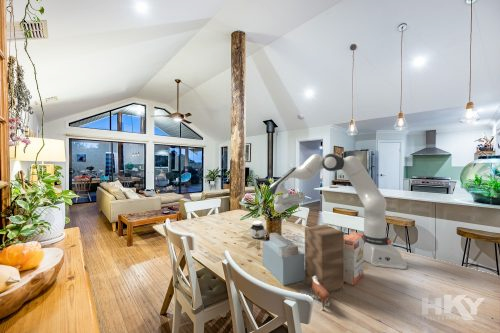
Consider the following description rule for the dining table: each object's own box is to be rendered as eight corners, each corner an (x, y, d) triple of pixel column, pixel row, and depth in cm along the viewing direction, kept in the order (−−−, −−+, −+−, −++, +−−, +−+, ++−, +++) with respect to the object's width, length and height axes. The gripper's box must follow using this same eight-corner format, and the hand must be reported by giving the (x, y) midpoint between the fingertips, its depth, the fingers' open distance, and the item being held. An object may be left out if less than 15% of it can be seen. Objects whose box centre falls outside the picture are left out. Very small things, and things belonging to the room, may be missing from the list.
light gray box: (261, 241, 121) (261, 234, 121) (275, 239, 124) (275, 232, 124) (281, 257, 100) (281, 249, 100) (298, 254, 104) (298, 246, 104)
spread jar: (249, 238, 164) (249, 222, 163) (256, 233, 174) (255, 219, 173) (263, 240, 158) (263, 224, 158) (269, 235, 168) (269, 220, 168)
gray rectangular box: (262, 264, 121) (262, 241, 121) (281, 260, 126) (281, 238, 125) (283, 285, 101) (283, 257, 100) (304, 280, 105) (304, 253, 105)
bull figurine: (317, 291, 96) (317, 273, 96) (332, 312, 83) (332, 291, 83) (307, 292, 96) (307, 273, 95) (321, 313, 82) (321, 292, 82)
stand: (305, 281, 104) (304, 227, 103) (324, 276, 109) (324, 224, 108) (322, 295, 93) (322, 235, 92) (343, 289, 97) (343, 231, 97)
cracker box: (354, 286, 100) (355, 241, 99) (341, 281, 104) (341, 238, 103) (364, 274, 110) (364, 233, 109) (352, 270, 114) (352, 231, 113)
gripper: (269, 198, 138) (279, 189, 126) (296, 196, 145) (308, 187, 134) (272, 207, 135) (281, 199, 124) (299, 205, 142) (311, 197, 131)
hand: (295, 193), depth 129 cm, fingers open, 8 cm apart
